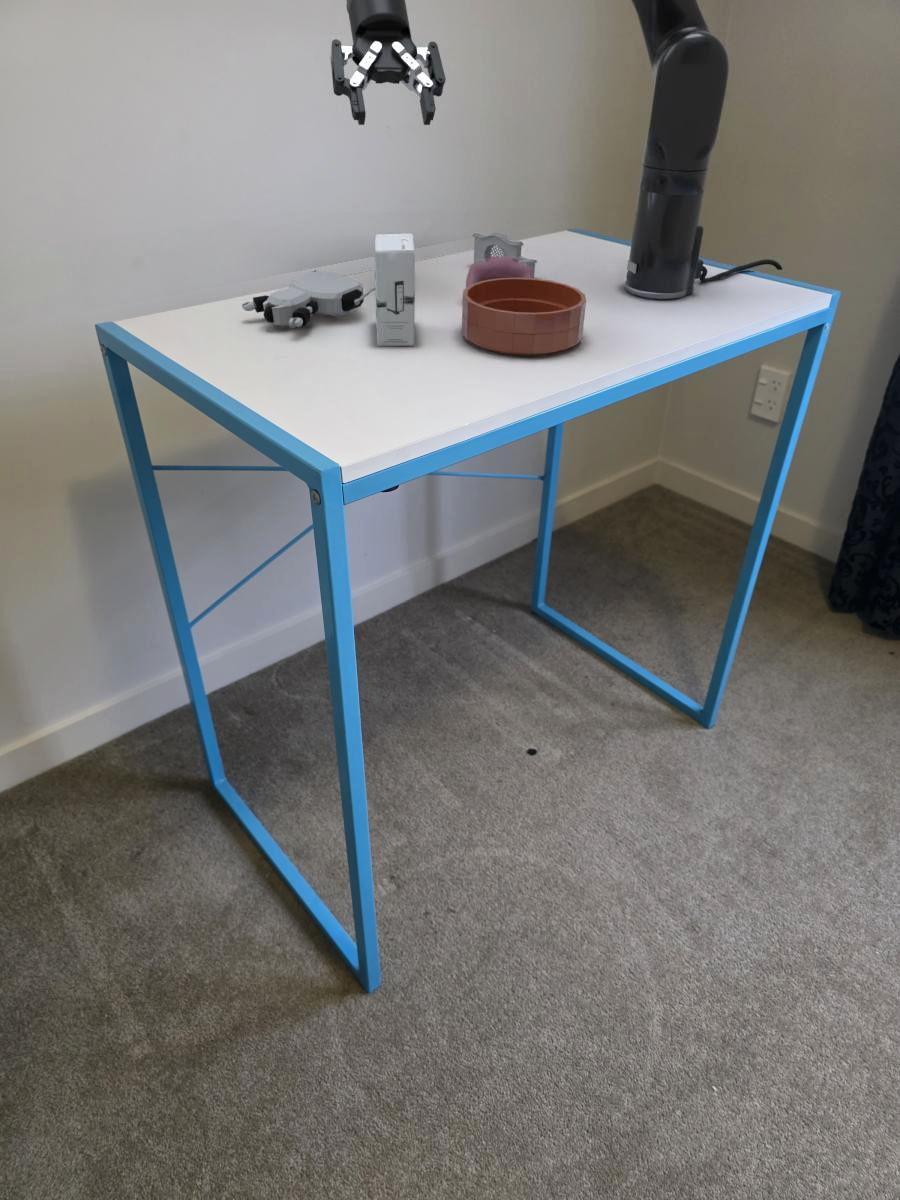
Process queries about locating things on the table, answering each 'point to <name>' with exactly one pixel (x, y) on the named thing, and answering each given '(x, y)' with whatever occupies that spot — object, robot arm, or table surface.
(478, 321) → the bowl
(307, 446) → the table surface
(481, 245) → the lattice window wall
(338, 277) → the robot toy
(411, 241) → the ink box
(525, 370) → the table surface
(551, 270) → the table surface
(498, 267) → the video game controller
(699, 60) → the robot arm
